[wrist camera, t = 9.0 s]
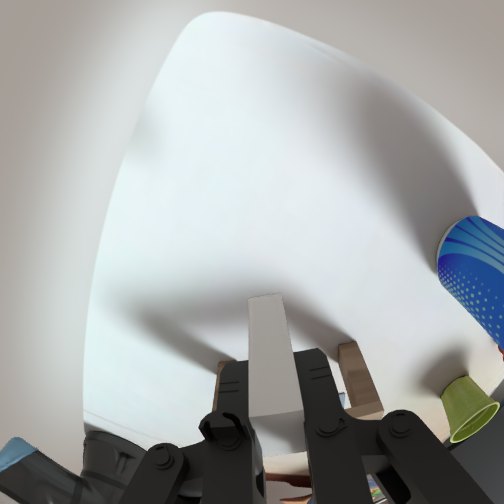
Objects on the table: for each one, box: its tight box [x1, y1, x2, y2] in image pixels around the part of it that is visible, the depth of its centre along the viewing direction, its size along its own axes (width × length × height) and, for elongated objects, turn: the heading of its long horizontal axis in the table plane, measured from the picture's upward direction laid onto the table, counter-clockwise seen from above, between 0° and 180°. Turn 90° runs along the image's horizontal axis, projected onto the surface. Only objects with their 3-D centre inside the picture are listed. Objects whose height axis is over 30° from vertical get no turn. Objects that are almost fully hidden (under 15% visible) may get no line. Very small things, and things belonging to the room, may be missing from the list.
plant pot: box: [441, 375, 499, 443], centre depth 29 cm, size 9×9×9 cm
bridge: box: [212, 341, 384, 420], centre depth 25 cm, size 3×15×10 cm, turn 100°
